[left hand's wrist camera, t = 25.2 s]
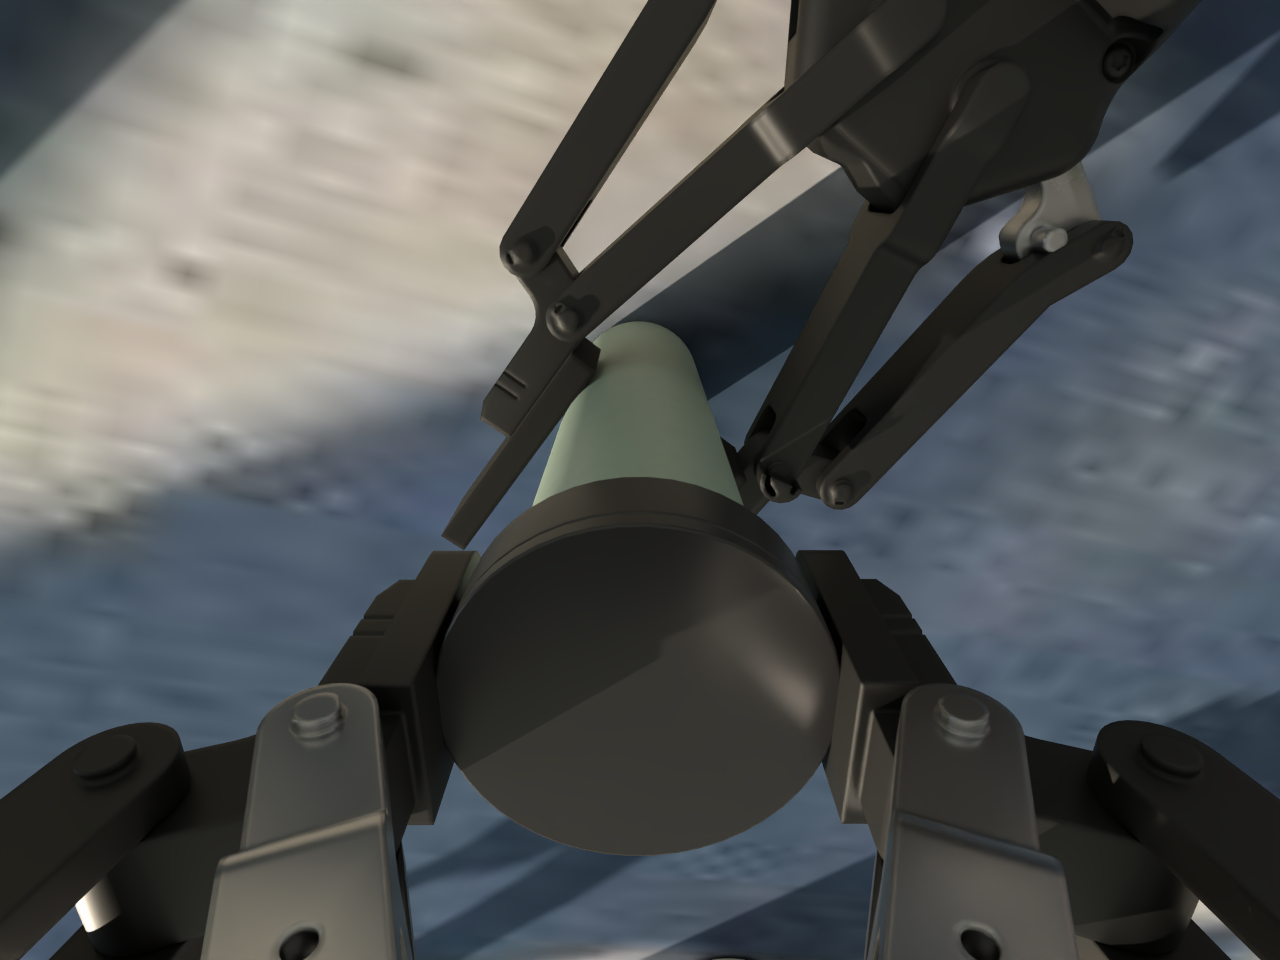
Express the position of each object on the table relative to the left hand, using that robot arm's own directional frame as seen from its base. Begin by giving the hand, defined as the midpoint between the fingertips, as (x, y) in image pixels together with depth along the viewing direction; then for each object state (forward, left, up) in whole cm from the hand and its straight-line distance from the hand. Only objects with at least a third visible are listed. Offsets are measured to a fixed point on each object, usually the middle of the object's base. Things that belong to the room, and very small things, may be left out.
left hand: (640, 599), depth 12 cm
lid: (0, 0, +2) cm, 2 cm away
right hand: (+4, -4, -9) cm, 10 cm away
